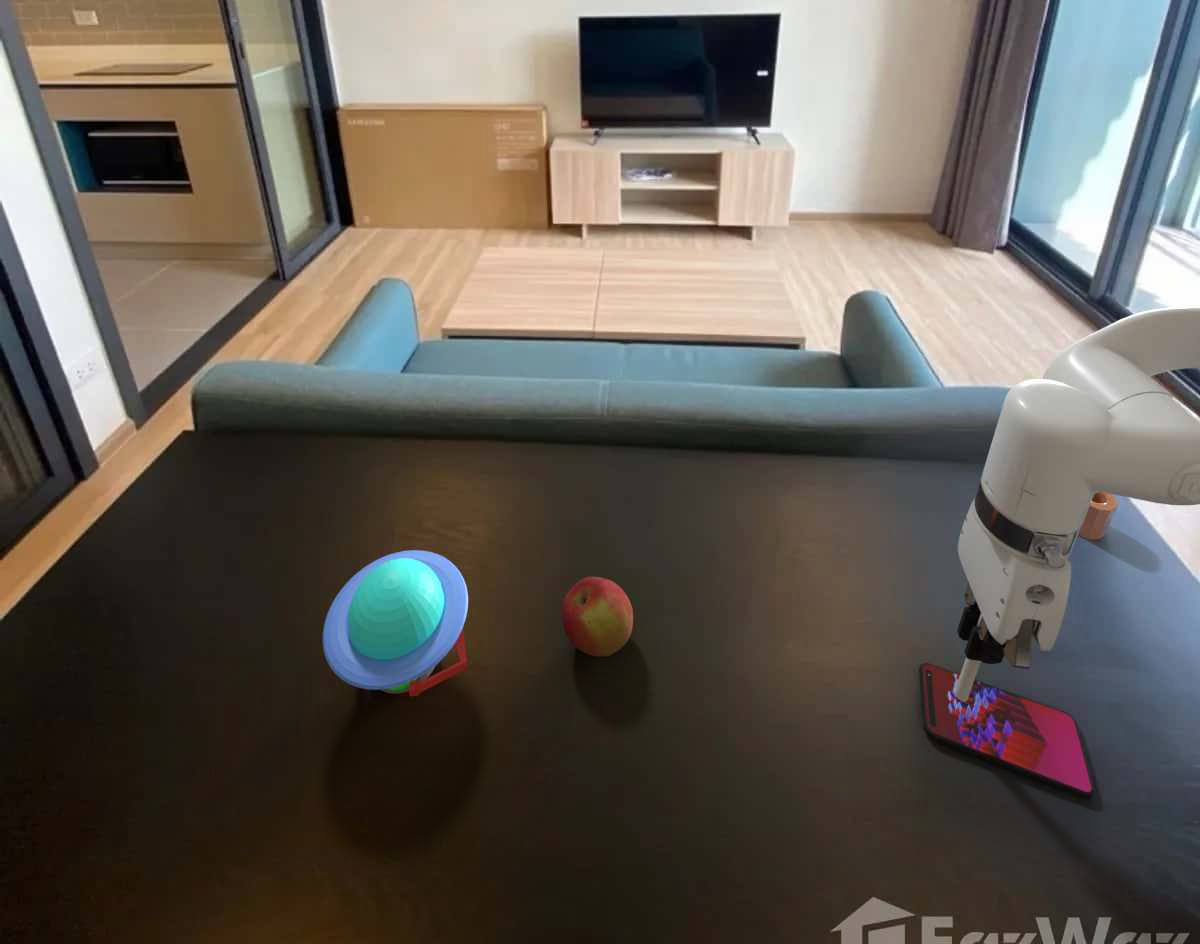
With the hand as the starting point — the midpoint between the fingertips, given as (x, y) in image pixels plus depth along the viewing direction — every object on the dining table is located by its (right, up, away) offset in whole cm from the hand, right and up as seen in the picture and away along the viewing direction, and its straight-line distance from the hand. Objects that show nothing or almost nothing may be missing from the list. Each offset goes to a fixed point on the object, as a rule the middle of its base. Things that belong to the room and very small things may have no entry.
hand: (978, 647), depth 63 cm
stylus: (0, -8, +3) cm, 9 cm away
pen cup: (+30, -2, +27) cm, 40 cm away
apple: (-38, -8, +12) cm, 40 cm away
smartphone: (+4, -11, +4) cm, 13 cm away
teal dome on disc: (-59, -9, +9) cm, 61 cm away
